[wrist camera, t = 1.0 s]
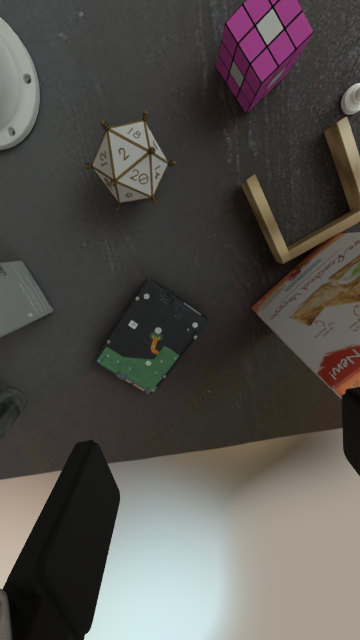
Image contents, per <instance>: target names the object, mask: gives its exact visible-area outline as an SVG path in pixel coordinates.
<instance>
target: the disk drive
mask: <svg viewBox="0 0 360 640" xmlns="http://www.w3.org/2000/svg"><path fill="white" fill-rule="evenodd" d="M208 323H209V321H208V318H207V317H206V316H205V315H203V314H202V313H200V312H199V311H198V310H196V309H195V308H193V307H192V306H190V305H189V304H188V303H186V302H185V301H183V300H182V299H181V298H179V297H178V296H176V295H175V294H173V293H172V292H171V291H169V290H168V289H166V288H165V287H163V286H162V285H160V284H159V283H157V282H156V281H155V280H153V279H152V278H149V279H148V280H147V281H146V283H145V284H144V286H143V287H142V288H141V290H140V291H139V293H138V294H137V296H136V298H135V299H134V301H133V302H132V303H131V305H130V307H129V308H128V310H127V311H126V313H125V314H124V316H123V317H122V319H121V320H120V321H119V323H118V325H117V326H116V328H115V329H114V331H113V332H112V334H111V335H110V336H109V338H108V340H107V341H106V342H105V344H104V345H103V347H102V348H101V350H100V351H99V353H98V355H97V356H96V358H95V359H94V361H93V362H94V363H95V364H97V365H98V366H100V367H102V368H103V369H105V370H107V371H108V372H110V373H112V374H114V375H116V377H118V378H120V379H121V380H124V379H125V381H127V382H129V383H130V384H131V383H132V385H134V386H135V387H137V388H139V389H141V390H142V391H145V394H148V395H149V393H150V394H152V393H153V392H154V391H155V389H156V388H157V387H159V386H160V385H161V383H162V382H163V380H164V379H165V378H166V377H167V375H168V374H169V373H170V371H171V370H172V369H173V368H174V367H175V365H176V364H177V363H178V362H179V360H180V359H181V358H182V356H183V355H184V354H185V353H186V351H187V350H188V349H189V348H190V346H191V345H192V344H193V342H194V341H195V340H196V339H197V338H198V336H199V335H200V334H201V333H202V332H203V330H204V328H205V327H206V326H207V324H208Z"/></svg>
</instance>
